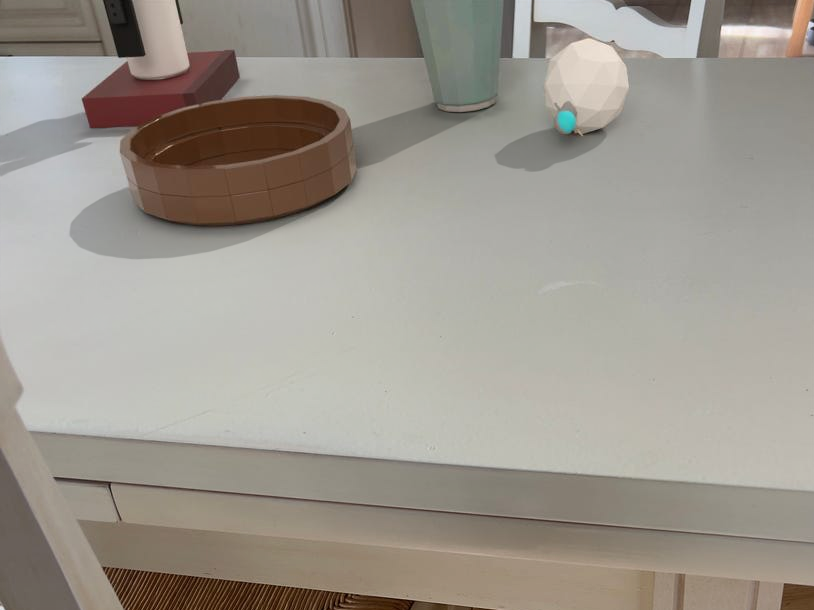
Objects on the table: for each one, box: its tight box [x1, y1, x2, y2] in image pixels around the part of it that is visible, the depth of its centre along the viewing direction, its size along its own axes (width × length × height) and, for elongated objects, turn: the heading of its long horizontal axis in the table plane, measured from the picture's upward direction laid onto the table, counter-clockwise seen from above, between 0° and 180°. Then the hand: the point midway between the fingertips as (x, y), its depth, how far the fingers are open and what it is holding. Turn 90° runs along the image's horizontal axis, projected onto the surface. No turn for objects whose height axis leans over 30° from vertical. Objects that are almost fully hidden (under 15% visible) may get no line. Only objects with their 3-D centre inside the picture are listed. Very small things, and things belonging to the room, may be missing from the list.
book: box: [81, 49, 241, 129], centre depth 113 cm, size 12×17×3 cm
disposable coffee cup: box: [410, 0, 505, 113], centre depth 102 cm, size 11×11×15 cm
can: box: [126, 0, 189, 80], centre depth 109 cm, size 6×6×12 cm
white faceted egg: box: [542, 37, 630, 137], centre depth 94 cm, size 8×8×12 cm
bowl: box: [119, 94, 358, 227], centre depth 90 cm, size 20×20×5 cm
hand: (152, 40), depth 110 cm, fingers open, 13 cm apart
